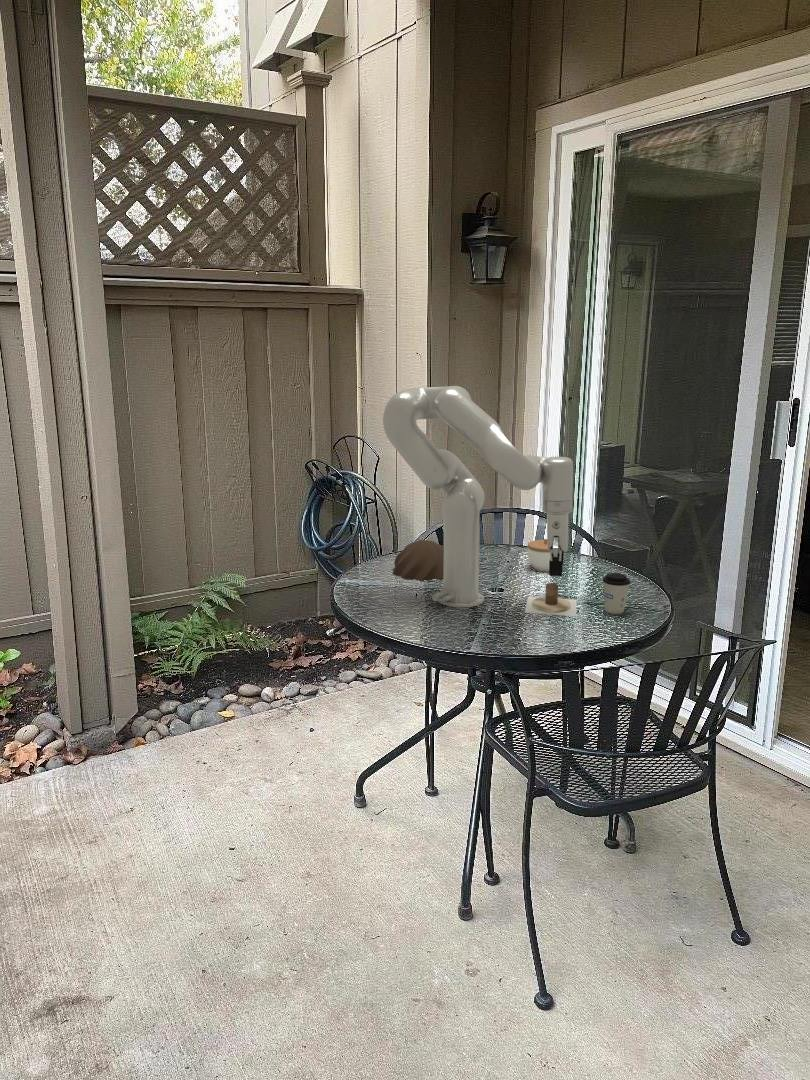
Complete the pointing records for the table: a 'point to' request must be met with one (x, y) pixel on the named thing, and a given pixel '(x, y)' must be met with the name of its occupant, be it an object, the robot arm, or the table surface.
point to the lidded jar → (539, 554)
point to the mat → (569, 612)
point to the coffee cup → (615, 592)
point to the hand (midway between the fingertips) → (556, 570)
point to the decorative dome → (420, 561)
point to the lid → (551, 600)
